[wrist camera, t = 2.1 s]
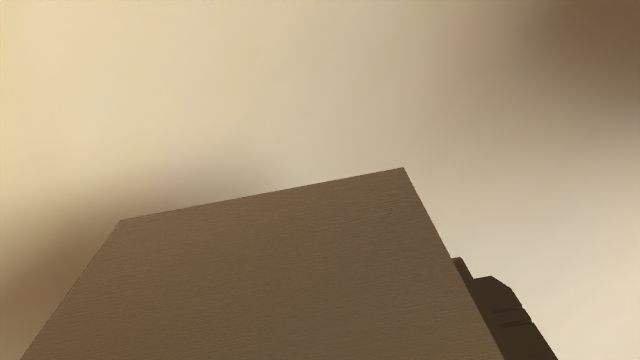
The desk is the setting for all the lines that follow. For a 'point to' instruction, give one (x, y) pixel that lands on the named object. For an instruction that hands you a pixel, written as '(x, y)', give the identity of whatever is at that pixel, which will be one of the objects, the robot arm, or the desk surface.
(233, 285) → the shaft
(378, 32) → the desk surface
